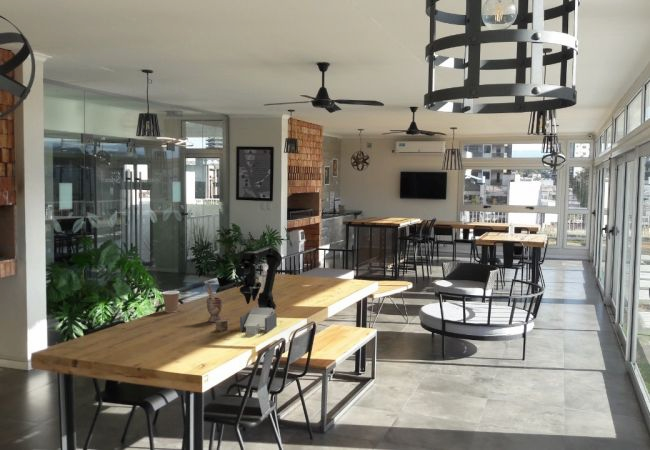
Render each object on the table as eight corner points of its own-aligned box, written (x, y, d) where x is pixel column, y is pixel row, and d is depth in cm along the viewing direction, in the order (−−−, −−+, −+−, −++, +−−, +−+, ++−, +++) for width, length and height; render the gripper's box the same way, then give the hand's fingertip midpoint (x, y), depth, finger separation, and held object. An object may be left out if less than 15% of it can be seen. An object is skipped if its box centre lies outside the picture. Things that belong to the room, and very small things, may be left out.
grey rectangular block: (250, 322, 334) (245, 325, 327) (259, 323, 333) (254, 326, 326) (250, 331, 334) (246, 335, 327) (259, 332, 333) (255, 335, 326)
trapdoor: (253, 311, 349) (252, 306, 347) (273, 312, 346) (272, 307, 344) (245, 330, 337) (243, 325, 335) (266, 331, 334) (265, 326, 332)
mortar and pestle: (199, 321, 360) (199, 286, 358) (209, 318, 367) (208, 284, 366) (216, 323, 354) (215, 288, 353) (225, 320, 362) (224, 286, 360)
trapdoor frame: (251, 324, 350) (250, 310, 349) (276, 326, 346) (276, 311, 346) (240, 331, 334) (240, 317, 333) (266, 333, 330) (266, 318, 330)
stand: (222, 328, 342) (222, 319, 341) (227, 329, 339) (227, 320, 338) (215, 330, 338) (215, 320, 338) (221, 331, 335) (220, 322, 335)
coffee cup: (182, 309, 392) (181, 290, 391) (176, 313, 382) (176, 293, 381) (166, 309, 393) (165, 290, 392) (160, 313, 383) (159, 293, 382)
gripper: (242, 271, 358) (243, 298, 359) (230, 276, 340) (230, 305, 341) (261, 272, 355) (261, 299, 356) (249, 277, 337) (250, 305, 338)
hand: (250, 302), depth 348 cm, fingers open, 9 cm apart
